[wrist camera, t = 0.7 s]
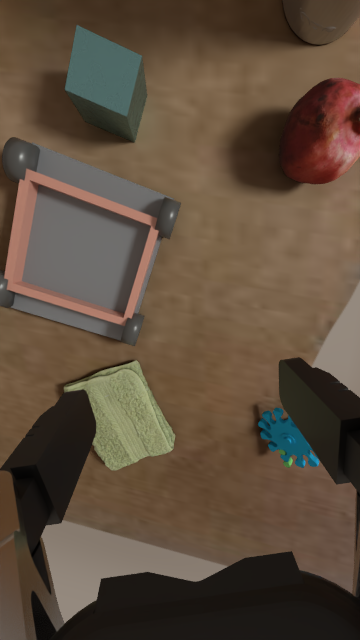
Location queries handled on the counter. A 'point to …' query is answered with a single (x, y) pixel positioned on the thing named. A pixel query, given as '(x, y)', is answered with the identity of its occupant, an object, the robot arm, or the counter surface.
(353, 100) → the fruit
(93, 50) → the teal glassy cube
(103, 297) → the chassis
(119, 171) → the counter surface
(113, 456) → the washcloth
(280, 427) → the gear
